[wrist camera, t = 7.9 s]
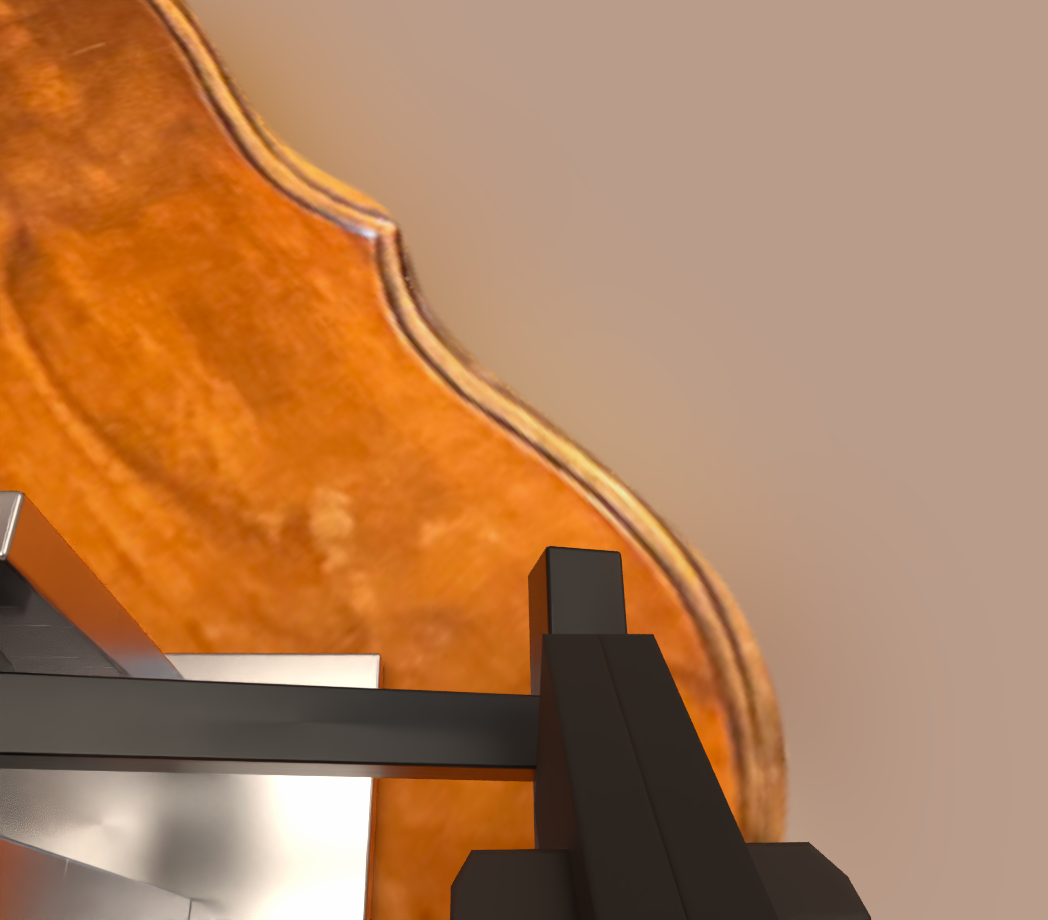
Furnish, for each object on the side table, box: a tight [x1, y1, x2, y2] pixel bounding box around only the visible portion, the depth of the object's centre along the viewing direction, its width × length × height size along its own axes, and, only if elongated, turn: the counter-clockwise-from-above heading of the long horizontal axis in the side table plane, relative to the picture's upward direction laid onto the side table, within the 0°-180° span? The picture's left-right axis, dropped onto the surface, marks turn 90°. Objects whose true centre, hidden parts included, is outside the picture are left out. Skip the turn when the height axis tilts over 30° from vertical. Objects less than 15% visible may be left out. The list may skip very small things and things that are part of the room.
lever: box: [0, 546, 627, 849], centre depth 13 cm, size 12×6×2 cm, turn 91°
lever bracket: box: [0, 491, 384, 920], centre depth 16 cm, size 12×8×13 cm, turn 91°
